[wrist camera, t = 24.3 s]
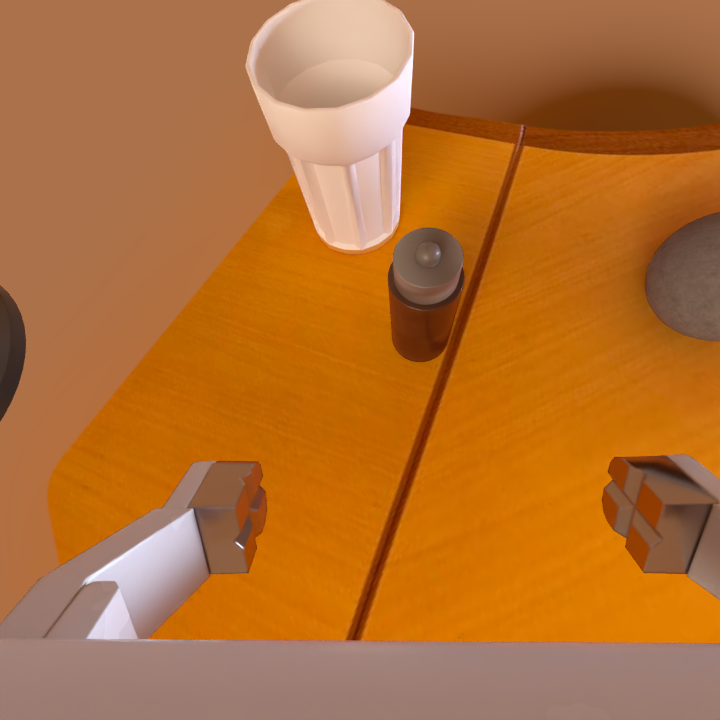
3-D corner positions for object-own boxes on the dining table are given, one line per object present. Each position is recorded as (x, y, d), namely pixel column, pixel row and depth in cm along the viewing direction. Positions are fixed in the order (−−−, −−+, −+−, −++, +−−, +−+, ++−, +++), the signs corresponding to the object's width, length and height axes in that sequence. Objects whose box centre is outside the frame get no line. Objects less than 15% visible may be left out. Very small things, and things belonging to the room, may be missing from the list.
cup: (396, 273, 41) (392, 122, 24) (290, 254, 43) (220, 102, 26) (421, 182, 44) (431, -6, 27) (321, 168, 46) (275, -15, 29)
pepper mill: (395, 365, 38) (391, 291, 24) (389, 314, 39) (381, 218, 26) (452, 358, 37) (480, 279, 24) (443, 307, 39) (464, 206, 25)
